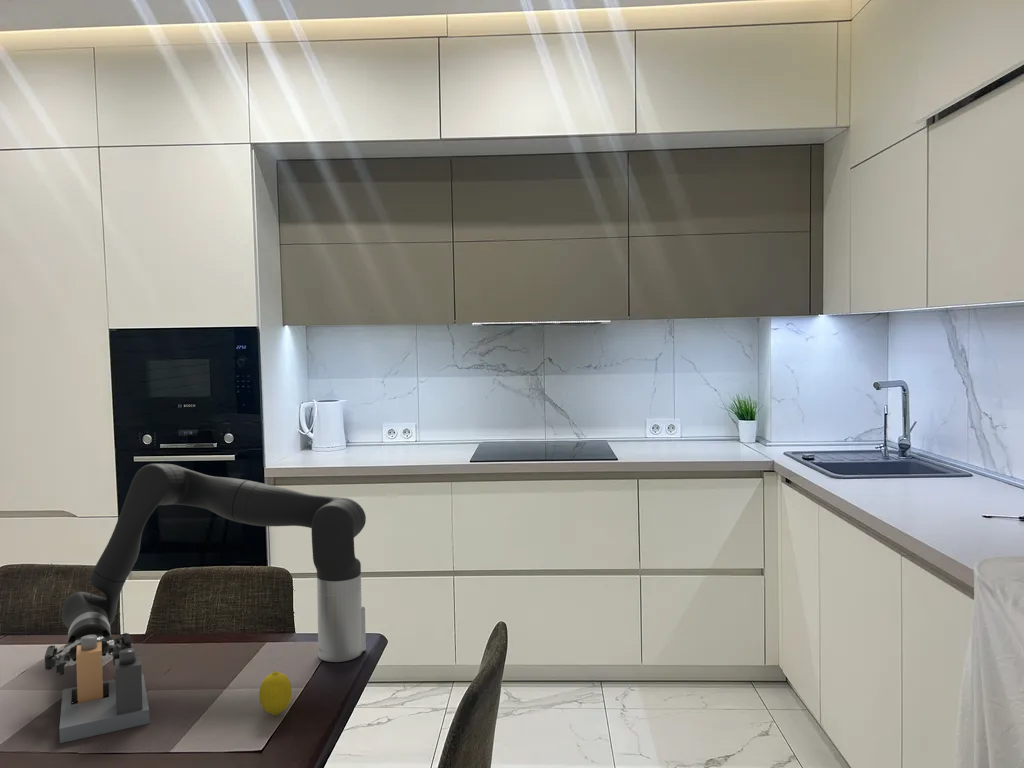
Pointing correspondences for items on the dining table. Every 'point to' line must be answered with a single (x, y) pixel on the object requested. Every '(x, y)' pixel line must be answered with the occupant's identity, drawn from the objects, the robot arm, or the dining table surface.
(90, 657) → the plug
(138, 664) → the gray post stand
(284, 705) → the lemon
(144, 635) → the dining table surface
